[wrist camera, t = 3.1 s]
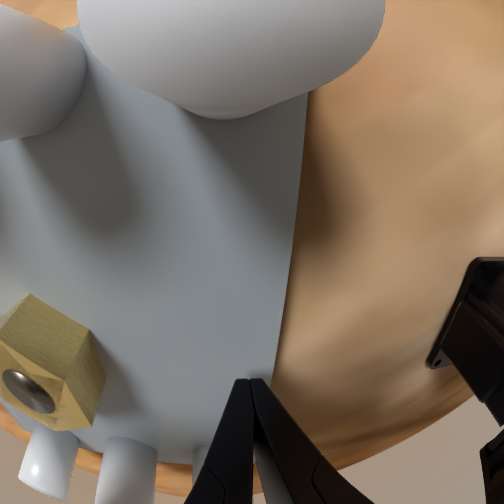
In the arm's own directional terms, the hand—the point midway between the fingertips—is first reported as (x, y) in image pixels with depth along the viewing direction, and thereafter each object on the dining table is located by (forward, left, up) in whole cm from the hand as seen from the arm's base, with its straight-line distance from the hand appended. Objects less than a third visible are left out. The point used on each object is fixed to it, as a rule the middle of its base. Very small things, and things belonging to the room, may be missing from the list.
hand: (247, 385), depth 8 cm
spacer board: (+7, -1, -2) cm, 7 cm away
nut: (+7, 0, -1) cm, 8 cm away
